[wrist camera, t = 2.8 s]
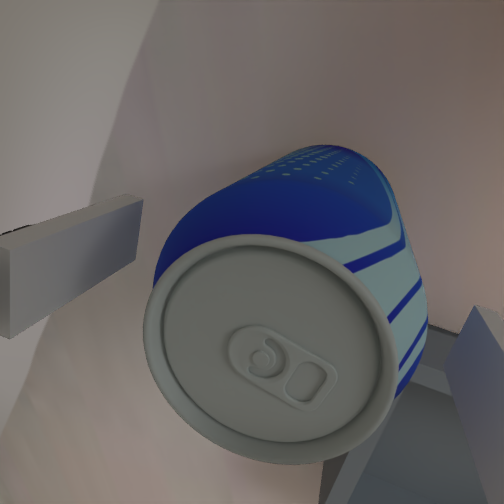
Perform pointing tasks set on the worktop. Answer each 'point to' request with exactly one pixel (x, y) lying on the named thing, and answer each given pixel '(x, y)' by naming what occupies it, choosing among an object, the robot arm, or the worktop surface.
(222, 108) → the worktop surface
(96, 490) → the worktop surface
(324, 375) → the beer can
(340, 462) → the caddy
